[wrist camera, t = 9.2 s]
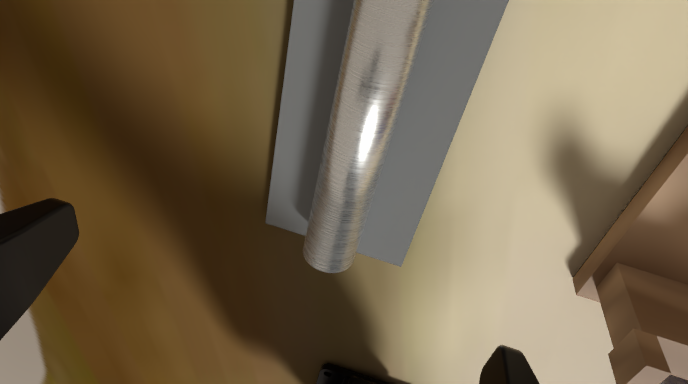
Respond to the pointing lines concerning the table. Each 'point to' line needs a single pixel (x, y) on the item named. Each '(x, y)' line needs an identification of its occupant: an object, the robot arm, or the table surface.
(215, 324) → the table surface
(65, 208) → the robot arm
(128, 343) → the table surface
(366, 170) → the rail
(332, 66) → the mat
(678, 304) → the rack
